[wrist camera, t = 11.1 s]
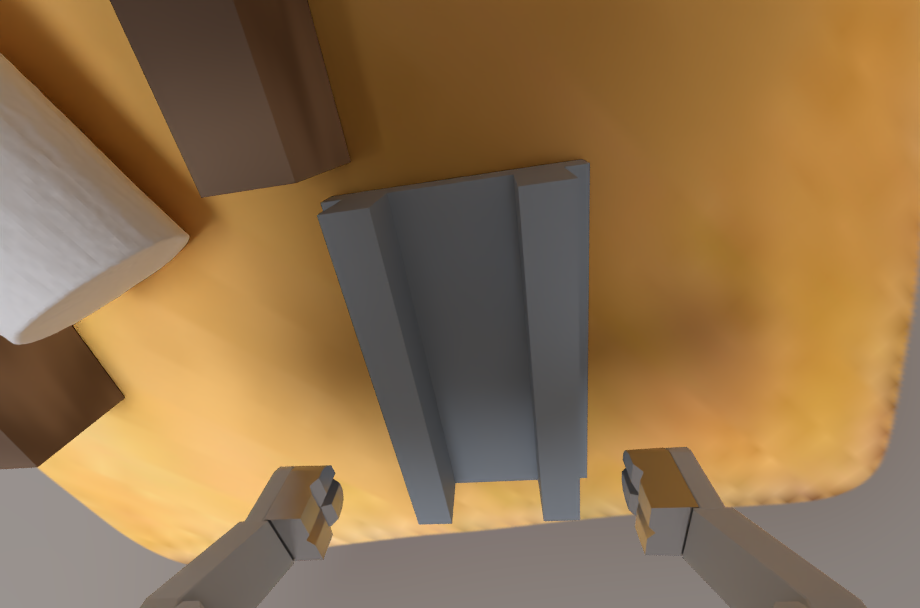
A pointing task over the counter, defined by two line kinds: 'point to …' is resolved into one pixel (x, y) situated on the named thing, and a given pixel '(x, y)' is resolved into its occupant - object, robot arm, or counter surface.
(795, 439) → the counter surface
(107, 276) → the roll
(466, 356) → the cradle
